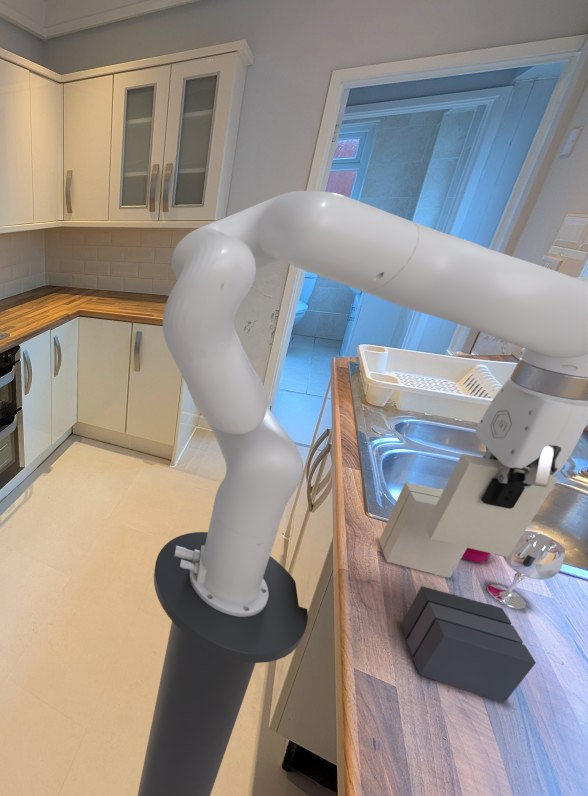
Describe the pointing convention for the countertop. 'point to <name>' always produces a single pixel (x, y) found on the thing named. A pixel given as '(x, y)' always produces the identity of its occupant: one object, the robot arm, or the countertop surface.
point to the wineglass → (529, 565)
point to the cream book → (482, 509)
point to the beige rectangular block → (417, 534)
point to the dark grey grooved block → (465, 644)
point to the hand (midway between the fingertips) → (490, 496)
